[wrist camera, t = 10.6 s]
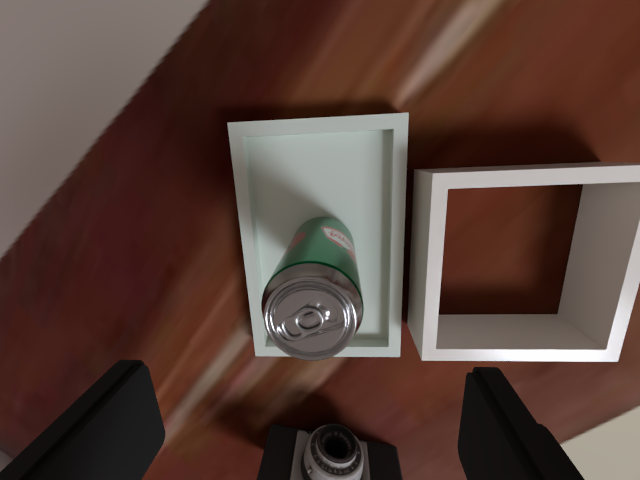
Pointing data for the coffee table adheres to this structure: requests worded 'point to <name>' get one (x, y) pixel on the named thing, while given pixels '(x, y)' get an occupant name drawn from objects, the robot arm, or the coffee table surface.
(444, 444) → the coffee table surface
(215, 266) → the coffee table surface
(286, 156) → the tray
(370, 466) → the camera
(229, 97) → the coffee table surface
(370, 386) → the coffee table surface
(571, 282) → the holder
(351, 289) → the soda can
